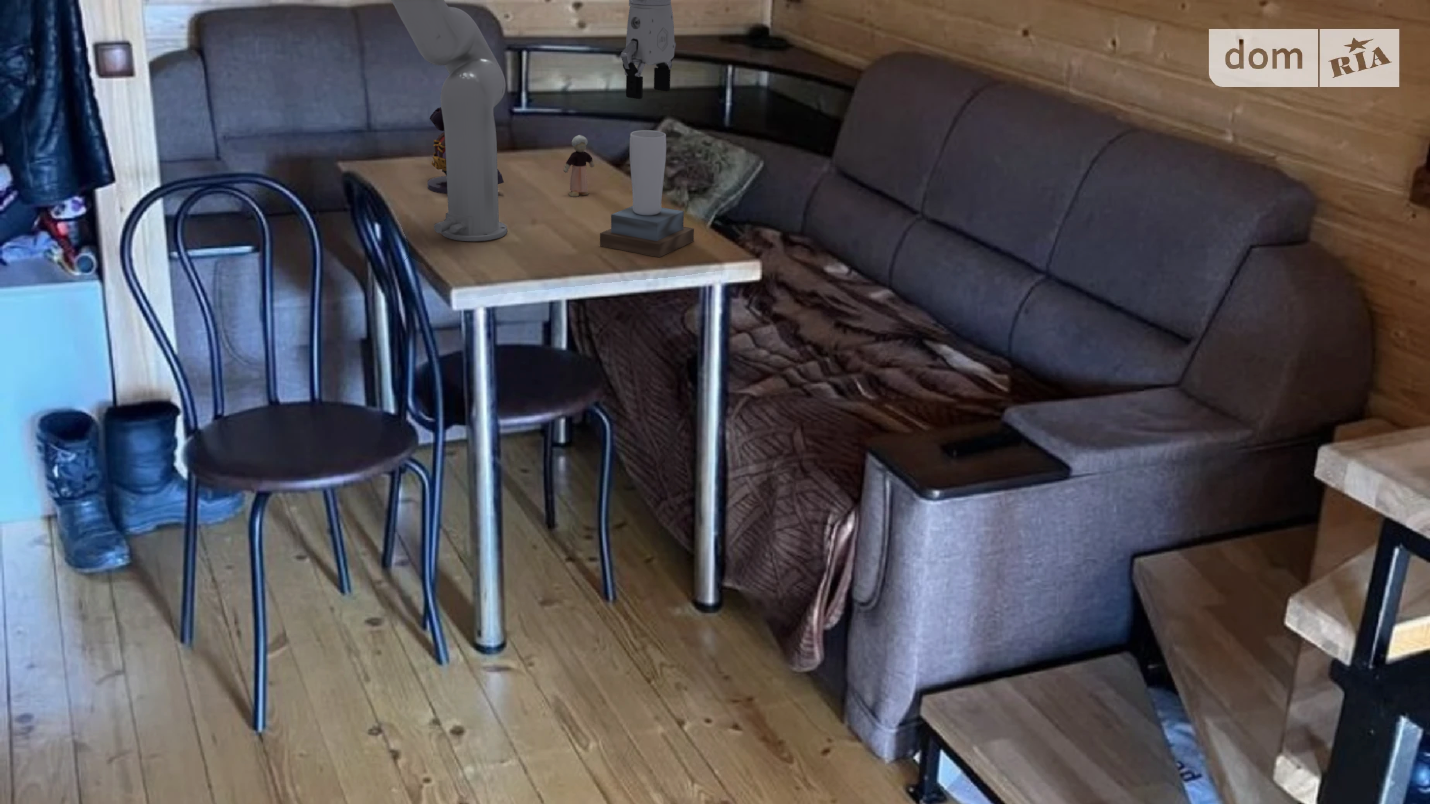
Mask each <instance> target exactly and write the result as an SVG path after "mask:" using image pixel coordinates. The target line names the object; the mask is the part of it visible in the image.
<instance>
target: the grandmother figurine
mask: <svg viewBox="0 0 1430 804" xmlns="http://www.w3.org/2000/svg"><path fill="white" fill-rule="evenodd" d="M588 142H589V141H588V139H587V137H585V136H584V135H582V134H578V135H576V136H574V137H573V138H572V141H571V146H572V147H573V149H574V150H575V151H574V152H573V151H572V153H571V154H570V156H569V157H568V158H567V160H566V162H565V165H564V168H563V172H564V173H568V172H569V169H570V167H572V169H571V174H570V179H569V180H570V181H569V182H570V183H569V191H570V192H569V193H568V195H569V196H570V197H573V198H574V197H575V198H576V197H580V196H587V195H589V191H588V175H587V163H588V164H589V168H594V167H595V163H594V161H593V157H592V156H591V154H590V153H588V152H586V151H585V150H586V148H587V144H588Z"/></svg>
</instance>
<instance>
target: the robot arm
mask: <svg viewBox="0 0 1430 804" xmlns="http://www.w3.org/2000/svg"><path fill="white" fill-rule="evenodd" d="M390 1H391V3H392V4H393V6H394V8H395V10H396V12H397V15H398V16H399V18H400V20H401V21H402V23H403V25H404V27H405V28H406V30H407V32H408V34H409V36H410V37H411V40H412V41H413V43H414V45H415V47H416V48H417V50H418V53H419V54H420V55H421V56H422V57H423V59H424V60H425V61H426V62H428V63H430V64H431V65H435V66H444V68H445V69H446V71H447V72H448V76H447V77H446V78H445V80H444V82H443V84H442V86H441V89H440V90H441V92H440V106H441V109H442V115H443V122H444V131H443V132H445V148H446V168H447V194H446V195H447V212H446V213H445V219H443V221H439V222H437V223H434V225H433V229H434V231H435V232H436V233H437V234H441V235H442V236H443V237H444V238H447V239H450V240H453V241H454V240H455V241H461V242H462V241H463V242H486V241H493V240H496V239H500V238H503V237H504V236H506V234H508V226H507V225H506V224H505V223H503V222H501V221H500V219H499V216H500V215H499V184H498V170H499V169H498V151H497V150H498V149H497V147H498V146H497V144H498V143H497V132H496V131H497V130H496V122H495V116H494V115H495V114H494V108H495V107H496V106H497V105H498V104H499V103H500V102H501V101H502V99H503V97H504V96H505V92H506V85H507V84H506V79H505V75H504V72H503V70H502V68H501V66H500V64H499V63H498V60H497V58H496V56H495V55H494V53H493V52H492V50H491V47H490V46H489V44H488V42H487V40H486V39H485V36H484V35H483V33H482V31H481V29H480V28H479V25H478V24H477V23H476V22H475V20H474V19H473V18H472V17H471V15H470V14H468V13H467V12H466V11H465V10H462V9H460V8H458V7H455V6H449V5H448V4H447V2H446V1H445V0H390ZM628 6H629V9H628V15H627V17H628V18H627V25H626V37H625V38H626V39H625V40H626V42H625V44H626V45H625V48H624V49H623V50H622V52H621V53H620V57H621V61H622V68H623V69H624V75H625V81H626V82H625V96H626V97H627V98H629V99H635V100H641V99H643V98H644V96H643V95H644V94H643V93H644V88H643V87H644V83H643V82H644V76H641V75H642V73H643V70H644V68H645V65H647V66H654V65H655V66H656V67H654V68H653V89H654V91H661V92H669V91H670V90H671V69H672V67H673V63H672V62H673V60H674V59H675V50H676V46H677V43H676V41H675V23H674V13H673V6H672V0H628ZM497 169H498V170H497Z"/></svg>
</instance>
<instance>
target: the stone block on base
mask: <svg viewBox="0 0 1430 804" xmlns="http://www.w3.org/2000/svg"><path fill="white" fill-rule="evenodd" d="M684 213H685V212H684V210H679V209H673V208H667V207H662V206H661V212H660V213H659V214H656V215H649V216H647V215H639V214H636V213H635V212H634V211H633V205H631V206H629V207H627V208H624V209H622V210H619V211H616V212H614V213H611V214H610V228H609V229H607V230H604V231H602V232H600V233H599V246H600V247H603V248H608V249H614V250H618V251H624V252H630V253H634V254H640V255H645V256H651V257H656V258H661V257H663V256H665V255H667V254H669V253H671V252H674V251H676V250H679V249H680V248H682V247H685V246H686V245H689V244H691V243H693V242H694V241H695V239H694V238H695V228H693V227H686V226H684V223H685V221H684V220H685V219H684V216H685V215H684Z"/></svg>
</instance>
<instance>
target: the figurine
mask: <svg viewBox="0 0 1430 804" xmlns="http://www.w3.org/2000/svg"><path fill="white" fill-rule="evenodd" d="M429 120H430V122H431V123H432V124H433V125H434V127H435V128H436V130H438V131H441V132H442V133H440V135H438V137H437V138H436V139H433V146H432V147H434V152H433V155H432V161H431V163H430V164H431V165H432V166H433V167H434V168H435V169H437V170H441V172H442V173H444V175H443V176H437V177H432V178H431V179H429V180H427V189H428V190H429V191H431V192H434V193H439V194H446V195H448V194H447V168H446V148H445V131H444V122H443V115H442V109H441V107H437V108H436V109H435V110H434V111H433V112H432V114H431V115H430V117H429ZM497 170H498V185H499V184H503V183H505V182H504V179H503V175H502V173H501V172H500V170H499V168H497Z"/></svg>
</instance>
